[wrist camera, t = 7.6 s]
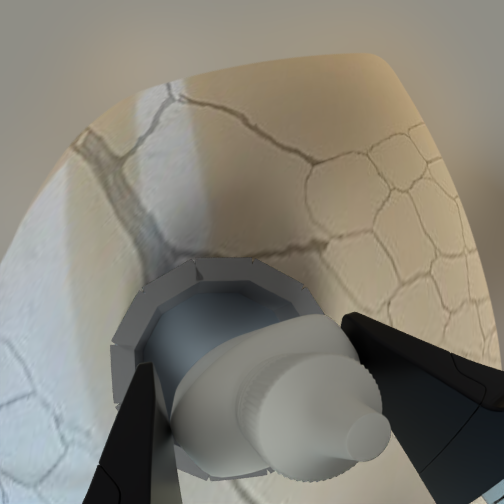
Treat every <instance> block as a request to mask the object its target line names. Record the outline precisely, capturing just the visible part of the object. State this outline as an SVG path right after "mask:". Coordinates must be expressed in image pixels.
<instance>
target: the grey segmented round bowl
mask: <svg viewBox="0 0 504 504" xmlns="http://www.w3.org/2000/svg"><path fill="white" fill-rule="evenodd" d="M303 285H304V284H302V283H300V282H298V281H297V280H295V279H293V278H291V277H289V276H287V275H285V274H284V273H282V272H280V271H278V270H276V269H274V268H272V267H271V266H269V265H267V264H265V263H263V262H261V261H259V260H258V259H256V258H255V260H254V261H253V262H252V257H246V258H195V263H194V262H193V260H192V259H190V260H189V261H187V262H185V263H183V264H182V265H180V266H178V267H176V268H175V269H173V270H171V271H169V272H168V273H166V274H164V275H162V276H161V277H159V278H157V279H156V280H154V281H152V282H150V283H149V284H147V285H145V286H144V287H142V289H143V290H144V292H141V291H138V293H137V295H136V297H135V298H134V300H133V302H132V304H131V305H130V307H129V309H128V311H127V313H126V314H125V316H124V318H123V320H122V322H121V324H120V325H119V327H118V329H117V331H116V333H115V335H114V337H113V339H112V340H111V341H112V342H113V343H115V345H110V351H111V372H112V386H113V398H114V403H119V404H118V405H117V406H116V409H117V410H118V411H119V409H120V406H121V404H122V401H123V399H124V396H125V394H126V391H127V389H128V387H129V384H130V382H131V380H132V377H133V375H134V372H135V370H136V368H137V366H138V364H140V363H145V362H153V363H154V366H155V368H156V371H157V374H158V377H159V380H160V383H161V387H162V392H163V396H164V401H165V405H166V409H167V414H168V418H169V422H170V417H171V411H172V406H173V401H174V396H175V392H176V389H177V387H178V385H179V383H180V382H181V380H182V379H183V377H184V376H185V375H186V373H187V372H188V371H189V370H190V369H191V367H192V366H193V365H194V364H195V363H196V362H197V361H198V360H200V359H201V358H202V357H203V356H204V355H205V354H207V353H208V352H209V351H211V350H212V349H214V348H215V347H217V346H219V345H220V344H222V343H224V342H226V341H228V340H230V339H232V338H235V337H237V336H240V335H243V334H246V333H249V332H252V331H255V330H258V329H261V328H264V327H267V326H270V325H273V324H276V323H279V322H282V321H286V320H289V319H292V318H296V317H300V316H305V315H312V314H320V315H325V314H324V313H323V311H322V310H321V308H320V307H319V305H318V304H317V302H316V301H315V299H314V298H313V296H312V295H311V293H310V292H309V290H308V289H307V287H305V288H303V289H302V287H303ZM301 289H302V290H301ZM171 431H172V430H171ZM172 436H173V444H174V451H175V459H176V466H177V469H179V470H181V471H184V472H186V473H189V474H191V475H193V476H196V477H198V478H201V479H204V480H206V481H207V479H208V477H210V481H221V480H231V479H241V478H249V477H257V476H263V475H267V470H268V471H269V472H270V473H272V472H274V471H275V470H273V469H272V468H271V467H268V468H265V469H262V470H259V471H256V472H252V473H249V474H244V475H239V476H232V477H215V476H211V475H209V474H208V473H206V472H204V471H203V470H202V469H200V468H199V467H198V466H197V465H196V464H195V463H194V461H193V460H192V459H191V458H190V457H189V456H188V455H187V453H186V452H185V451H184V450H183V449H182V447H181V446H180V445H179V443H178V442H177V441H176V439H175V438H174V435H173V433H172Z"/></svg>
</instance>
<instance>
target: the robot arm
mask: <svg viewBox="0 0 504 504" xmlns="http://www.w3.org/2000/svg"><path fill="white" fill-rule="evenodd" d="M341 329H342V330H343V332H344V333H345V334H346V336H347V337H348V339H349V340H350V342H351V343H352V345H353V346H354V348H355V350H356V351H357V353H358V357H359V360H360V364H361V365H364V367H365V369H368V371H369V374H372V377H373V379H375V382H376V384H378V390H380V395H381V401H382V415H383V416H385V417H386V418H387V420H388V421H389V423H390V427H391V430H392V432H393V433H394V435H395V437H396V438H397V440H398V442H399V443H400V445H401V446H402V448H403V450H404V451H405V453H406V454H407V456H408V458H409V459H410V461H411V463H412V464H413V466H414V467H415V469H416V471H417V472H418V474H419V476H420V478H421V479H422V481H423V483H424V484H425V486H426V487H427V489H428V491H429V492H430V494H431V496H432V497H433V499H434V501H435V502H436V504H469V503H471V502H473V501H474V500H476V499H477V498H478V497H480V496H482V498H483V499H484V500H485V502H486V503H487V504H504V371H501V370H498V369H495V368H492V367H488V366H485V365H482V364H479V363H476V362H473V361H471V360H468V359H466V358H463V357H461V356H458V355H456V354H454V353H450V352H449V351H446V350H444V349H442V348H439V347H437V346H435V345H432V344H430V343H427V342H425V341H423V340H420V339H418V338H416V337H413V336H411V335H409V334H406V333H404V332H402V331H399V330H397V329H395V328H392V327H390V326H388V325H385V324H383V323H381V322H379V321H376V320H374V319H372V318H369V317H367V316H365V315H362V314H360V313H358V312H352V313H349V314H345V315H344V316H343V318H342V323H341ZM99 464H100V465H97V468H96V471H95V474H94V476H93V479H92V481H91V484H90V487H89V489H88V492H87V494H86V496H85V498H84V500H83V502H82V504H182V498H181V492H180V486H179V480H178V473H177V466H176V459H175V451H174V444H173V436H172V431H171V427H170V422H169V418H168V414H167V409H166V405H165V401H164V396H163V392H162V387H161V383H160V380H159V377H158V374H157V371H156V368H155V366H154V363H153V362H145V363H140V364H138V366H137V368H136V370H135V372H134V375H133V377H132V380H131V382H130V384H129V387H128V389H127V391H126V394H125V396H124V399H123V401H122V404H121V406H120V409H119V411H118V413H117V416H116V418H115V421H114V424H113V426H112V429H111V431H110V434H109V436H108V439H107V442H106V444H105V447H104V449H103V452H102V455H101V457H100V460H99Z"/></svg>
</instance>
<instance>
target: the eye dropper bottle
mask: <svg viewBox="0 0 504 504" xmlns="http://www.w3.org/2000/svg"><path fill="white" fill-rule="evenodd" d="M170 427H171V430H172V433H173V435H174V438H175V439H176V441H177V442H178V443H179V445H180V446H181V447H182V449H183V450H184V451H185V452H186V453H187V455H188V456H189V457H190V458H191V459H192V460H193V461H194V463H195V464H196V465H197V466H198V467H199V468H200V469H202V470H203V471H204V472H206V473H208V474H209V475H211V476H215V477H232V476H239V475H244V474H249V473H252V472H256V471H259V470H262V469H265V468H268V467H271V468H272V469H273V470H275V471H276V472H277V473H278V474H282V475H283V476H284V477H288V478H289V479H290V480H292V479H295V480H296V481H301V480H302V481H303V482H306V481H309V482H313V481H316V482H318V481H321V480H323V481H324V480H326V479H328V478H329V479H331V478H333V477H337V476H338V475H340V474H343V473H344V472H345V471H347V470H349V469H350V468H351V467H353V466H355V465H356V463H358V462H359V461H361V462H364V461H370V460H372V459H374V458H376V457H377V456H379V455H380V454H381V453H382V452H383V451H384V449H385V448H386V446H387V445H388V442H389V440H390V436H391V427H390V423H389V421H388V420H387V418H386V417H385V416H383V415H382V401H381V395H380V390H378V384H376V382H375V379H373V377H372V374H369V371H368V369H365V367H364V365H361V364H360V360H359V357H358V353H357V351H356V350H355V348H354V346H353V345H352V343H351V342H350V340H349V339H348V337H347V336H346V334H345V333H344V332H343V330H342V329H341V328H340V327H339V325H338V324H337V323H336V322H335V321H334V320H332V319H331V318H330V317H328V316H327V315H320V314H312V315H305V316H300V317H296V318H292V319H289V320H286V321H282V322H279V323H276V324H273V325H270V326H267V327H264V328H261V329H258V330H255V331H252V332H249V333H246V334H243V335H240V336H237V337H235V338H232V339H230V340H228V341H226V342H224V343H222V344H220V345H219V346H217V347H215V348H214V349H212V350H211V351H209V352H208V353H207V354H205V355H204V356H203V357H202V358H201V359H200V360H198V361H197V362H196V363H195V364H194V365H193V366H192V367H191V369H190V370H189V371H188V372H187V373H186V375H185V376H184V377H183V379H182V380H181V382H180V383H179V385H178V387H177V389H176V392H175V396H174V401H173V406H172V411H171V417H170Z"/></svg>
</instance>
